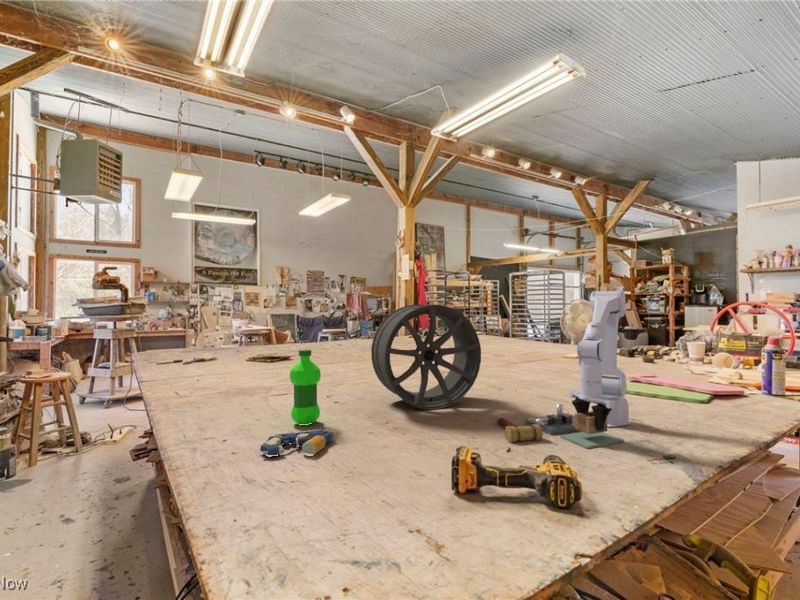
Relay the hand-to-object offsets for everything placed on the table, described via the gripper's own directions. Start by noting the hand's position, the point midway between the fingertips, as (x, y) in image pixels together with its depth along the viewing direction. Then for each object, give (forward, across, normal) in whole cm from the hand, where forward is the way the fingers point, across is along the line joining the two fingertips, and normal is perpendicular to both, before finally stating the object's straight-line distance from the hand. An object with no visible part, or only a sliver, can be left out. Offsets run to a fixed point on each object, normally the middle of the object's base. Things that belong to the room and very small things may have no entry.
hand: (591, 427), depth 119 cm
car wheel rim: (+4, -58, -27) cm, 64 cm away
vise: (+4, -14, +1) cm, 15 cm away
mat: (+4, 0, 0) cm, 4 cm away
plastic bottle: (+4, -49, -76) cm, 91 cm away
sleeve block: (+1, 0, 0) cm, 1 cm away
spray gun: (+4, -26, -81) cm, 85 cm away
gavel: (+4, -16, -17) cm, 23 cm away
